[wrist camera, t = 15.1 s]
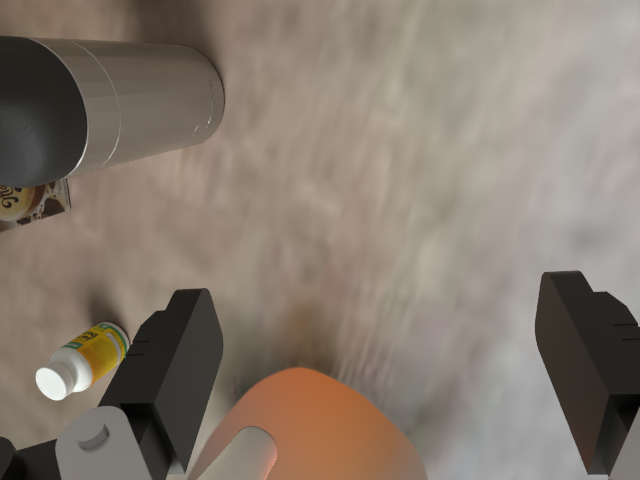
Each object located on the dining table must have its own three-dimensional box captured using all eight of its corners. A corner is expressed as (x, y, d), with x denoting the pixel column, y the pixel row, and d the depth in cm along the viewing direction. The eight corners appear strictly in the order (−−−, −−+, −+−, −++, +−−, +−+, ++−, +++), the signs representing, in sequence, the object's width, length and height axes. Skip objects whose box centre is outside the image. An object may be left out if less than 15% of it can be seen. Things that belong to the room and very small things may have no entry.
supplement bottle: (109, 364, 64) (47, 411, 55) (87, 327, 63) (21, 369, 55) (139, 353, 62) (79, 400, 53) (116, 315, 61) (52, 356, 52)
